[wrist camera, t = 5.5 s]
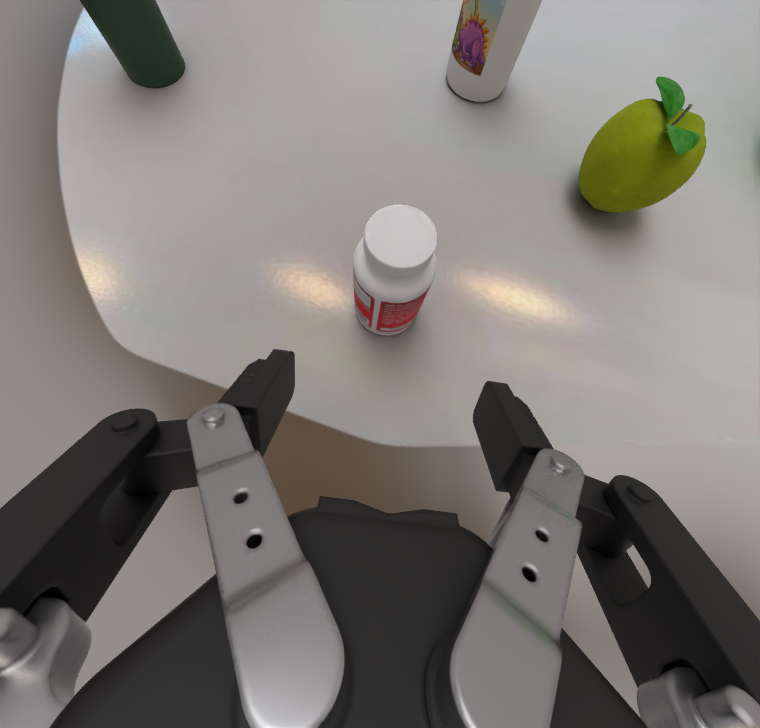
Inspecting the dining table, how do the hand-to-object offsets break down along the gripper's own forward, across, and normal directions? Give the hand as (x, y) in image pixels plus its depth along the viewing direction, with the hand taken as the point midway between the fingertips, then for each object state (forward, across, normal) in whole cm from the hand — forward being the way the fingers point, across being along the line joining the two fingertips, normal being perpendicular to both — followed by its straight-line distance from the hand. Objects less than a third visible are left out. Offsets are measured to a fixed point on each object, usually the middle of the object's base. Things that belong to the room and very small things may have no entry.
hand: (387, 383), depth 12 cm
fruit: (+31, -23, -9) cm, 39 cm away
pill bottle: (+18, 0, +3) cm, 18 cm away
